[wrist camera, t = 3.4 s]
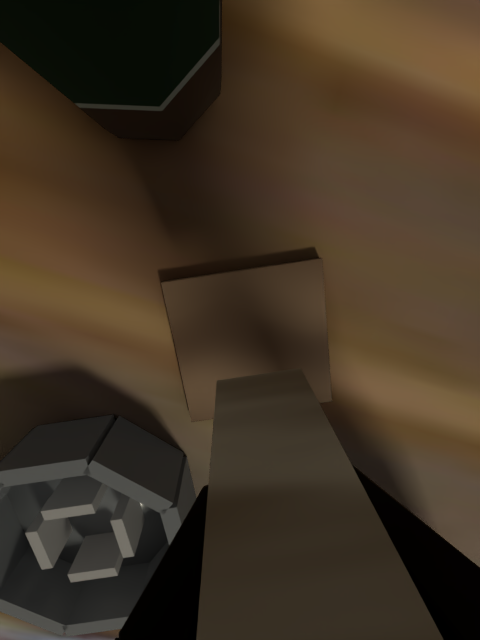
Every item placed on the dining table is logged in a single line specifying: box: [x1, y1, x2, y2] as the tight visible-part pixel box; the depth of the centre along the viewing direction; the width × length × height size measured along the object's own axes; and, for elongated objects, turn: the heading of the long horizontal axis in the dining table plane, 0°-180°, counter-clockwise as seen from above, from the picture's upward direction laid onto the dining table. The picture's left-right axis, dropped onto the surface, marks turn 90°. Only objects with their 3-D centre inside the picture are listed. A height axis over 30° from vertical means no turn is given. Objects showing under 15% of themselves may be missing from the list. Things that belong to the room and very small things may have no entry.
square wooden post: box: [196, 368, 443, 640], centre depth 6 cm, size 3×3×10 cm
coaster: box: [161, 258, 332, 422], centre depth 18 cm, size 9×9×1 cm
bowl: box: [0, 414, 196, 636], centre depth 20 cm, size 13×13×4 cm
